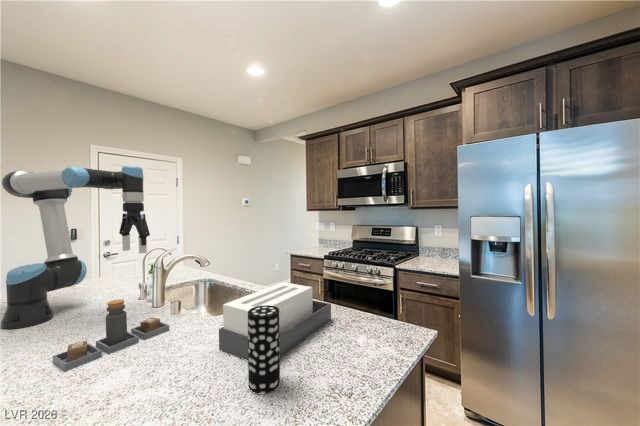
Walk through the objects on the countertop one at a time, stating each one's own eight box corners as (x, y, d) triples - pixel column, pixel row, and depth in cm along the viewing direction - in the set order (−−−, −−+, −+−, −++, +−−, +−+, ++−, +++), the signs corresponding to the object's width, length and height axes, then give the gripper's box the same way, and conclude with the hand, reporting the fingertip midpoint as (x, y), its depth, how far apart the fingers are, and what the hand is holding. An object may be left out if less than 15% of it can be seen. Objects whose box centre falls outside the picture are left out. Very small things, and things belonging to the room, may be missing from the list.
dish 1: (52, 364, 86) (52, 356, 86) (89, 350, 94) (89, 343, 94) (64, 373, 81) (64, 364, 81) (102, 358, 89) (101, 350, 89)
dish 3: (131, 335, 105) (130, 328, 105) (156, 326, 113) (155, 320, 113) (144, 341, 100) (144, 334, 100) (169, 331, 108) (169, 325, 108)
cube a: (140, 334, 105) (140, 321, 105) (150, 328, 109) (150, 317, 109) (150, 335, 103) (149, 323, 103) (160, 330, 108) (159, 318, 108)
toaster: (258, 363, 86) (258, 313, 86) (223, 349, 94) (223, 304, 94) (318, 322, 116) (318, 285, 116) (287, 314, 124) (287, 280, 124)
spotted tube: (251, 375, 80) (250, 305, 79) (280, 374, 80) (280, 304, 80) (246, 395, 71) (245, 317, 71) (279, 393, 72) (278, 316, 71)
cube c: (68, 359, 88) (68, 344, 88) (87, 354, 91) (86, 340, 90) (67, 365, 84) (67, 350, 84) (87, 360, 87) (86, 345, 87)
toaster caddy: (219, 349, 94) (218, 329, 94) (290, 311, 128) (290, 295, 128) (266, 368, 83) (266, 344, 83) (331, 320, 118) (330, 303, 117)
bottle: (116, 349, 93) (114, 304, 93) (102, 347, 95) (100, 303, 94) (131, 341, 99) (130, 299, 99) (117, 339, 100) (116, 298, 100)
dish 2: (95, 348, 95) (95, 341, 95) (125, 337, 103) (125, 330, 103) (108, 355, 91) (108, 348, 90) (139, 343, 98) (138, 336, 98)
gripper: (109, 202, 123) (110, 250, 124) (139, 202, 110) (140, 255, 111) (128, 202, 130) (129, 248, 130) (158, 202, 117) (159, 252, 117)
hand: (134, 251), depth 121 cm, fingers open, 13 cm apart
